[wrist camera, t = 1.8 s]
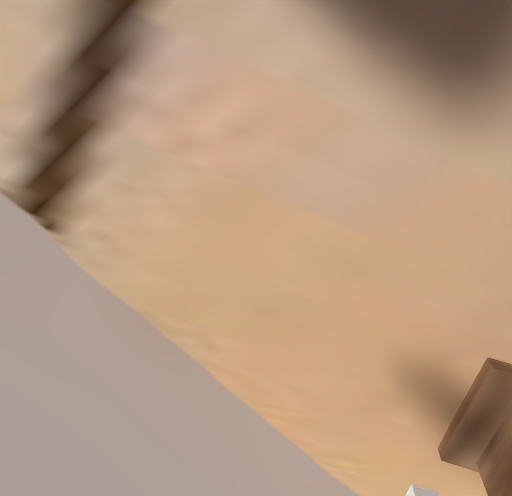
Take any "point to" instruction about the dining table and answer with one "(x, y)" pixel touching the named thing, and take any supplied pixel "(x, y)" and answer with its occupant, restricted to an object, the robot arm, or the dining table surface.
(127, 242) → the dining table surface
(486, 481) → the pin stand
